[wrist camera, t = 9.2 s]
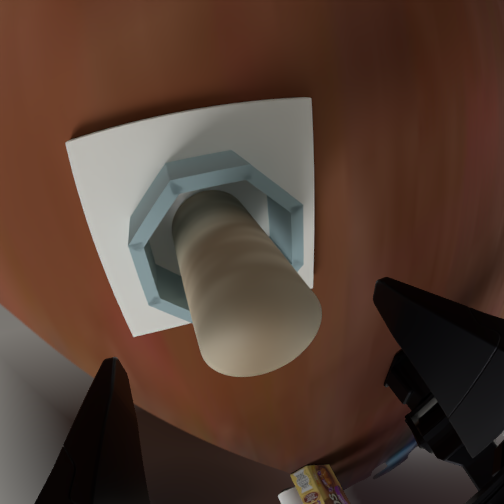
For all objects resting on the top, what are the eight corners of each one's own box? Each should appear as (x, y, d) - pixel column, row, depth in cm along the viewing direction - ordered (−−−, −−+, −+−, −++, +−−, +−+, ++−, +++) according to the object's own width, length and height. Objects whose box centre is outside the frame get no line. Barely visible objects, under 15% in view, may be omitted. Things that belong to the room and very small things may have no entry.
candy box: (287, 475, 44) (320, 542, 31) (306, 464, 43) (342, 533, 31) (312, 474, 49) (344, 532, 36) (329, 463, 48) (363, 523, 36)
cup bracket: (304, 96, 15) (345, 102, 12) (307, 281, 21) (335, 315, 18) (69, 139, 12) (46, 156, 9) (133, 328, 18) (136, 373, 15)
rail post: (243, 183, 15) (324, 266, 9) (250, 250, 17) (318, 354, 11) (164, 200, 14) (186, 304, 8) (180, 268, 17) (212, 388, 10)
